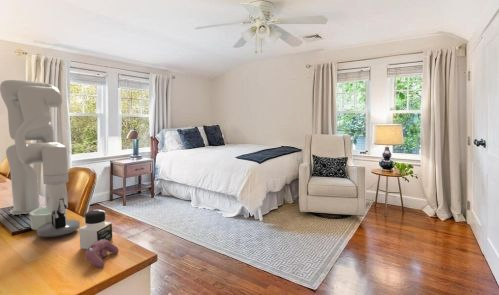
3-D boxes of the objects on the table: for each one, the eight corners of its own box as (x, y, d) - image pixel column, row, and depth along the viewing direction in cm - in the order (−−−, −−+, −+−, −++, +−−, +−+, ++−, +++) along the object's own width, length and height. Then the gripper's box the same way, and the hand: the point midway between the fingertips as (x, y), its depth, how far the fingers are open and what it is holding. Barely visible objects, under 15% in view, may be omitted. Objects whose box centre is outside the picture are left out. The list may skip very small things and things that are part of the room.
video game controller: (108, 256, 90) (98, 238, 89) (120, 250, 89) (110, 232, 89) (90, 273, 80) (78, 253, 79) (103, 267, 79) (92, 246, 79)
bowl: (27, 224, 111) (26, 210, 110) (61, 217, 120) (60, 204, 119) (35, 232, 104) (34, 217, 103) (70, 223, 112) (69, 209, 112)
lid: (32, 229, 102) (31, 214, 101) (72, 219, 112) (72, 205, 111) (42, 240, 94) (41, 223, 93) (85, 228, 104) (84, 213, 103)
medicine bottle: (98, 251, 90) (96, 215, 89) (79, 248, 91) (77, 214, 90) (113, 241, 97) (111, 208, 96) (95, 239, 98) (93, 207, 97)
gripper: (37, 176, 103) (40, 222, 105) (50, 184, 92) (53, 235, 95) (60, 173, 109) (63, 217, 111) (75, 180, 98) (78, 229, 100)
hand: (58, 225), depth 103 cm, fingers closed on lid, 3 cm apart
